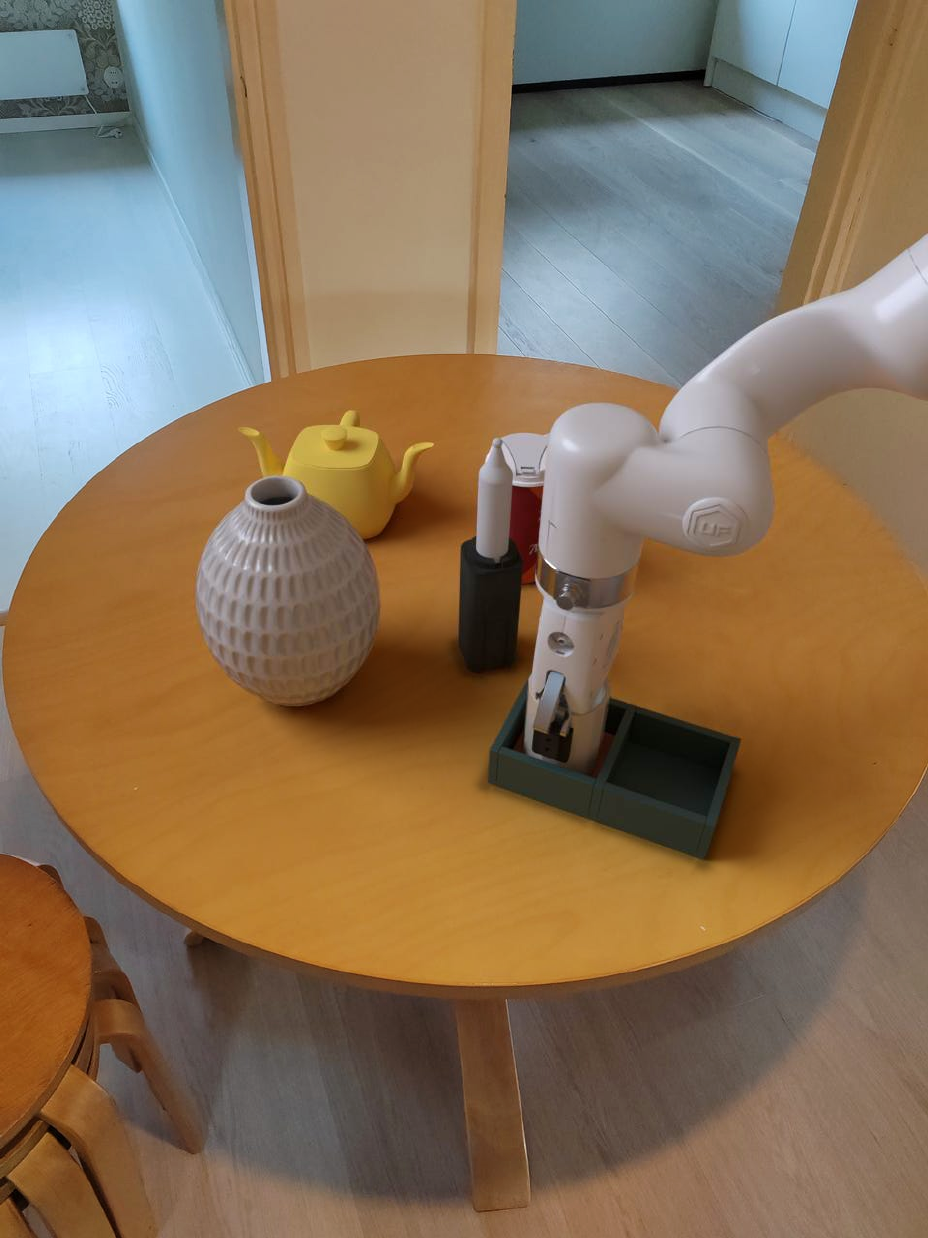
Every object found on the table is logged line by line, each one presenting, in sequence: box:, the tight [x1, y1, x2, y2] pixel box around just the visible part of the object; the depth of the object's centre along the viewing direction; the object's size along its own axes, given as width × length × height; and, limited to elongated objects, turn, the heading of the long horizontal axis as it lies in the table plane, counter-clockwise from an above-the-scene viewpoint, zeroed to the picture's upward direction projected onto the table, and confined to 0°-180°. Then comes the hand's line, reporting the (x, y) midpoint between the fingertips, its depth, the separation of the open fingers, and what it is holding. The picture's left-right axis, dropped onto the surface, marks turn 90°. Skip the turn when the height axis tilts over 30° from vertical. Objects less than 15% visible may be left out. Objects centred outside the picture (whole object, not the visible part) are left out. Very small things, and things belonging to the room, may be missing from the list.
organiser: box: [487, 671, 742, 861], centre depth 86 cm, size 19×10×5 cm, turn 67°
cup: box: [522, 673, 612, 776], centre depth 85 cm, size 7×7×9 cm
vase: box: [194, 476, 382, 707], centre depth 88 cm, size 16×16×22 cm
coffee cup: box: [484, 432, 549, 585], centre depth 104 cm, size 8×8×15 cm
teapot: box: [237, 409, 435, 540], centre depth 113 cm, size 22×16×11 cm
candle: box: [457, 437, 523, 674], centre depth 90 cm, size 5×5×25 cm
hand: (565, 723), depth 85 cm, fingers closed on cup, 6 cm apart
